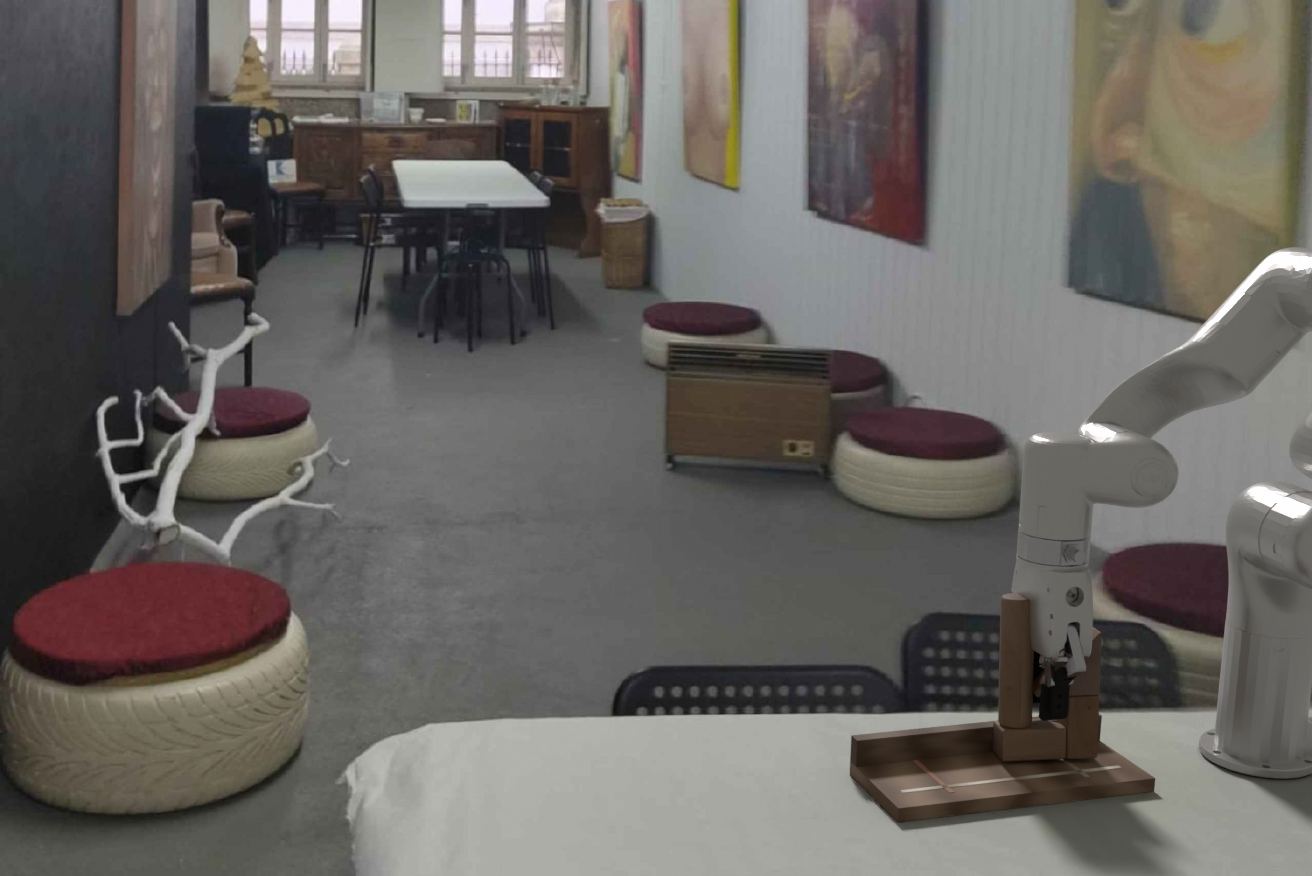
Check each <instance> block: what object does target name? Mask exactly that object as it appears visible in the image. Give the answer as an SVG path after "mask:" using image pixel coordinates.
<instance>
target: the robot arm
mask: <svg viewBox="0 0 1312 876" xmlns="http://www.w3.org/2000/svg"><path fill="white" fill-rule="evenodd" d="M1309 332H1312V248H1311V247H1297V246H1294V247H1293V246H1292V247H1285V248H1281V249H1279V250H1278V249H1277V250H1276V251H1274V252H1272V253H1270V254H1269V255H1267V256H1266V257H1265V258H1264V259H1263V260H1262V261H1261V262H1260V263H1259V264H1258V265H1257V266H1256V267H1255V268H1254V269H1253V270H1252V271H1251V272H1250V273H1249V274H1248V275H1247V276H1246V278H1245V279H1244V280H1243V281H1242V282H1241V283H1240V284H1239V285H1238V286H1237V287H1236V288H1235V289H1234V290H1233V291H1232V293H1230V295H1229V296H1227V298H1226V299H1225V300H1224V301H1223V302H1222V303H1221V304H1220V305H1219V307H1218V308H1217V309H1216V310H1215V311H1214V312H1213V313H1212V314H1211V315H1210V316H1209V317H1208V319H1206V320H1205V322H1204V323H1203V324H1202V325H1201V326H1200V327H1199V328H1198V329H1197V330H1196V331H1195V332H1194V333H1193V335H1191V336H1190V338H1188V339H1187V340H1186V341H1185V342H1184V343H1183V344H1181V345H1180V346H1178V347H1177V348H1174V349H1173V350H1171V351H1170V352H1168V353H1165V354H1163V355H1162V356H1161V357H1159V358H1158V359H1156V360H1154V361H1153V362H1151V363H1150V364H1148V365H1146V366H1144V367H1142V368H1141V369H1140V370H1137V371H1136V372H1135V373H1132V374H1131V375H1130V376H1129V377H1127V378H1126V379H1124V380H1123V381H1122V382H1120V383H1119V384H1118V385H1117V386H1115V387H1114V388H1113V389H1112V390H1111V391H1110V392H1109V393H1108V394H1107V395H1106V396H1105V397H1104V398H1102V400H1101V401H1100V402H1099V403H1098V405H1096V406H1095V407H1094V408H1093V410H1092V411H1091V412H1090V413H1089V414H1088V415H1087V416H1086V417H1085V419H1084V420H1083V421H1082V422H1081V423H1080V425H1079V426H1078V427H1077V429H1076V430H1075V431H1074V433H1071V432H1063V431H1048V432H1047V431H1044V432H1039V433H1035V434H1032V435H1031V436H1029V437H1028V438H1027V440H1026V442H1025V444H1024V448H1023V455H1022V457H1023V458H1022V471H1021V473H1022V474H1021V485H1020V486H1021V487H1020V499H1019V501H1020V502H1019V513H1018V515H1019V516H1018V517H1019V518H1018V530H1017V541H1016V542H1017V544H1016V554H1015V555H1016V556H1015V559H1016V561H1015V566H1014V570H1013V576H1012V582H1011V589H1010V590H1011V591H1010V593H1018V594H1020V595H1022V596H1024V597H1026V598H1028V599H1029V601H1030V637H1031V649H1033V650H1034V659H1033V680H1034V679H1035V678H1036V677H1037V676H1038V675H1039V674H1040V673H1041V672H1042V671H1043V670H1044V669H1045V683H1046V684H1041V692H1040V697H1037V696H1036V695H1034V694H1033V702H1032V704H1039V707H1038V716H1039V718H1040V719H1041V720H1043V721H1048V720H1058V719H1065V718H1066V717H1067V715H1068V702H1069V690H1070V685H1072V684H1073V679H1074V678H1075V677H1076V676H1077V675H1079V674H1081V673H1083V672H1085V671H1086V664H1085V660H1084V658H1088V657H1089V656H1090V654H1091V649H1092V633H1093V627H1094V626H1093V625H1094V599H1093V597H1094V596H1093V594H1094V593H1093V582H1092V580H1093V579H1092V574H1091V569H1090V568H1089V563H1090V562H1089V561H1090V552H1091V551H1090V550H1091V538H1092V526H1093V525H1092V524H1093V514H1094V513H1093V512H1094V505H1095V504H1099V505H1100V504H1101V505H1108V506H1115V507H1124V508H1131V509H1133V508H1134V509H1142V508H1143V509H1144V508H1148V507H1153V506H1155V505H1158V504H1160V503H1162V502H1164V501H1165V500H1166V499H1167V498H1169V497H1170V495H1172V493H1173V492H1174V491H1175V488H1176V487H1177V485H1178V480H1179V467H1178V463H1177V460H1176V458H1175V457H1174V455H1173V453H1171V452H1170V450H1169V449H1167V447H1166V446H1165V445H1163V444H1161V443H1160V442H1158V441H1156V440H1154V439H1153V437H1154V436H1155V435H1156V434H1157V433H1159V432H1161V430H1162V429H1164V428H1165V427H1166V426H1168V425H1169V424H1170V423H1173V422H1174V421H1176V420H1178V419H1179V418H1181V417H1184V416H1186V415H1188V414H1190V413H1192V412H1196V411H1200V410H1202V409H1208V408H1212V407H1215V406H1216V407H1217V406H1220V405H1225V404H1229V403H1232V402H1235V401H1237V400H1240V399H1243V398H1245V397H1247V396H1249V395H1250V394H1251V393H1253V392H1254V391H1255V390H1256V389H1257V387H1258V386H1259V385H1260V384H1261V383H1263V381H1264V379H1266V377H1267V376H1268V375H1270V373H1271V372H1272V371H1273V369H1275V368H1276V367H1277V366H1278V364H1279V363H1280V362H1281V361H1282V360H1283V359H1284V358H1285V357H1286V356H1287V354H1289V353H1290V351H1291V350H1293V348H1294V347H1295V346H1296V345H1298V344H1299V342H1300V341H1301V340H1302V339H1303V338H1304V337H1305V336H1307V334H1308V333H1309ZM1289 456H1290V457H1289V458H1290V459H1291V462H1292V464H1293V465H1294V466H1295V469H1297V470H1298V471H1299V472H1300V473H1301V474H1302V475H1304V476H1306V477H1307V478H1309V479H1311V480H1312V403H1311V404H1310V406H1309V407H1308V408H1307V410H1306V412H1305V414H1304V415H1303V416H1302V417H1301V420H1300V421H1299V423H1298V425H1297V426H1296V428H1295V430H1294V432H1293V434H1292V437H1291V438H1290V443H1289ZM1225 523H1226V524H1225V543H1226V555H1227V556H1226V557H1227V565H1228V566H1227V568H1228V592H1227V603H1226V613H1225V615H1226V616H1225V621H1224V622H1225V623H1224V634H1223V644H1222V653H1221V654H1222V655H1221V664H1220V676H1219V683H1218V693H1217V694H1218V695H1217V705H1216V715H1215V717H1216V718H1215V723H1214V724H1215V726H1214V728H1212V729H1208V730H1207V731H1205V732H1203V733H1202V734H1201V735H1200V736H1199V740H1198V741H1199V742H1198V749H1199V752H1200V753H1201V754H1202V755H1203V756H1204V757H1205V758H1206V759H1207V760H1209V761H1210V762H1212V763H1214V764H1215V765H1218V766H1219V767H1222V768H1225V769H1226V770H1230V771H1233V772H1236V773H1239V774H1243V775H1248V776H1252V777H1259V778H1265V779H1266V778H1267V779H1277V780H1278V779H1283V780H1285V779H1297V778H1303V777H1305V776H1309V775H1312V716H1309V713H1310V705H1311V697H1312V696H1311V695H1312V490H1309V489H1306V488H1304V487H1301V486H1299V485H1296V484H1292V483H1288V482H1284V481H1275V480H1274V481H1273V480H1268V481H1262V482H1257V483H1255V484H1252V485H1250V486H1248V487H1246V488H1245V489H1244V490H1243V491H1241V492H1240V493H1239V494H1238V495H1237V496H1236V498H1235V499H1234V501H1233V502H1232V503H1231V506H1230V507H1229V510H1228V514H1227V516H1226V522H1225ZM1062 651H1063V653H1064V655H1059V654H1060V653H1061V652H1062ZM1060 662H1063V667H1059V668H1058V669H1057V670H1056V671H1055V663H1060ZM1043 663H1044V666H1042V665H1043Z"/></svg>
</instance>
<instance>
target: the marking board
mask: <svg viewBox="0 0 1312 876" xmlns="http://www.w3.org/2000/svg"><path fill="white" fill-rule="evenodd" d="M1102 717H1103V716H1102V714H1100V713H1099V721H1098V755H1097V758H1086V759H1067V758H1065V759H1051V760H1028V761H1005V762H1004V761H1002V760H1001V759H1000V758H999V757H998V756H997V755H996V754H995V752H994V751H993V723H994V721H995V720H989V721H980V722H972V723H971V722H970V723H961V724H960V723H959V724H949V725H942V726H941V725H940V726H932V727H931V726H930V727H922V728H921V727H919V728H912V729H911V728H910V729H902V730H900V729H899V730H893V731H892V730H891V731H884V732H883V731H882V732H871V733H862V734H852V735H851V736H850V740H851V741H850V758H849V760H850V761H849V776H851V777H852V778H853V779H854V781H856V782H857V783H858V785H860V787H862V788H863V789H864V790H865V791H866V792H867V793H868V794H869V795H870V796H871V797H872V798H873V799H874V800H875V801H876V802H877V803H878V804H879V805H880V806H881V807H882V808H883V810H885V811H886V812H887V814H889V815H890V816H891V817H892V818H893V819H894V820H895V821H896V822H897V823H904V822H910V821H918V820H919V821H920V820H927V819H935V818H942V817H951V816H961V815H968V814H969V815H970V814H977V813H985V812H993V811H994V812H995V811H1002V810H1009V809H1017V808H1026V807H1034V806H1035V807H1036V806H1042V805H1052V804H1061V803H1068V802H1076V801H1084V800H1085V801H1086V800H1093V799H1101V798H1102V799H1103V798H1109V797H1117V796H1118V797H1119V796H1126V795H1133V794H1134V795H1136V794H1143V793H1151V792H1155V789H1156V788H1155V787H1156V786H1155V785H1156V777H1154V776H1153V775H1151V774H1150V773H1149V772H1147V771H1146V770H1144V769H1143V768H1141V767H1139V766H1138V765H1137V764H1135V763H1134V762H1132V761H1130V760H1129V759H1127V758H1126V757H1125V756H1124V755H1122V754H1120V753H1119V752H1117V751H1116V750H1115V749H1113V748H1112V747H1110V746H1108V745H1107V744H1106V743H1104V742H1102V741H1101V733H1102V732H1101V731H1102V730H1101V729H1102V719H1103V718H1102ZM1032 719H1040V718H1039V715H1037V716H1032ZM1048 721H1052V722H1056V723H1057V720H1048Z"/></svg>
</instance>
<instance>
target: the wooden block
mask: <svg viewBox="0 0 1312 876" xmlns="http://www.w3.org/2000/svg"><path fill="white" fill-rule="evenodd" d="M999 611H1000V615H999V617H1000V619H999V662H998V663H999V664H998V665H999V666H998V672H999V673H998V709H997V710H998V712H997V713H998V715H997V717H998V719H997V720H993V721H994V723H993V751H994V752H995V754H996V755H997V756H998V757H999V758H1000V759H1001V760H1002V761H1004V762H1005V761H1028V760H1051V759H1065V758H1067V759H1086V758H1097V755H1098V721H1099V714H1100V713H1099V712H1100V694H1101V693H1100V692H1101V690H1100V689H1101V667H1102V665H1101V661H1102V632H1101V631H1100V630H1098V629H1097V628H1096V627H1094V626H1093V633H1092V649H1091V654H1090V656H1089V657H1088V658H1084V660H1085V664H1086V671H1085V672H1083V673H1081V674H1079V675H1077V676H1076V677H1075V678H1074V679H1073V684H1072V685H1070V690H1069V702H1068V715H1067V717H1066V718H1065V719H1058V720H1057V723H1056V722H1052V721H1043V720H1041V719H1032V717H1033V703H1032V702H1033V694H1034V695H1036V696H1037V697H1040V692H1041V684H1046V683H1045V669H1044V670H1043V671H1042V672H1041V673H1040V674H1039V675H1038V676H1037V677H1036V678H1035V679H1034V680H1033V659H1034V650H1033V649H1031V637H1030V601H1029V599H1028V598H1026V597H1024V596H1022V595H1020V594H1018V593H1011V592H1009V593H1005V594H1003V595H1001V597H1000V609H999ZM1059 655H1064V653H1063V651H1060V652H1059ZM1059 667H1063V662H1060V663H1055V671H1056V670H1057V669H1058V668H1059Z"/></svg>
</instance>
